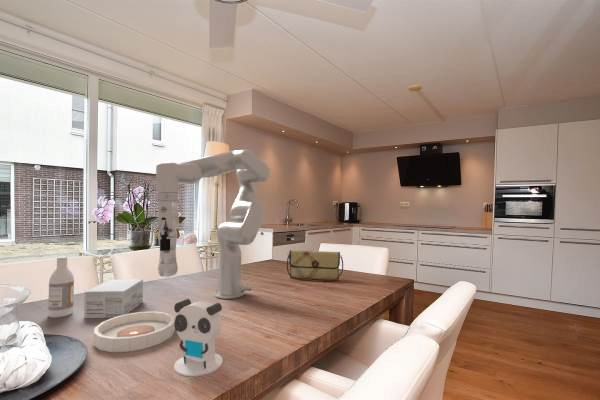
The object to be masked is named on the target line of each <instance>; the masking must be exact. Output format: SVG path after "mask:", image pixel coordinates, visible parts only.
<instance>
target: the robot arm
mask: <svg viewBox="0 0 600 400" xmlns="http://www.w3.org/2000/svg"><path fill="white" fill-rule="evenodd" d="M233 171H236V178H237V182H238V185H239V192H238V193H237V196H236V198H235V199H234V202H233V204H232V206H231V208H230V210H229V211H230V212H229V216H230V218H231V219H232V221H229V220H228V221H224V222H221V223H220V224H219V225H218V226H217V229H216V239H217V243H218V283H217V284H218V286H217V287H218V288H217V290H215V292H214V294H213V295H214V297H215V298H218V299H223V300H229V299H238V298H241V297H243V296H245V291H247V292H250V291H252V286H251V285H244V284H243V282H242V250H241V247H240V246H249V245H251V244H252V243H253V242H254V241H255V239H256V237H257V235H258V233H259V230H260V228H261V226H262V223H263V220H264V218H265V207H264V205H263V204H262V203H261V202H260V201H257V198H258V197H257V196H258V191H257V189H256V187H255V185H254V183H264V182H267V181H268V180H269V178H270V177H271V170H270V168H269V165H268V164H267V163H266V162H265V161H264V160H262V159H261V158H260V157H259V156H258V154H257V155H256V153H254V152H253V151H251V150H250V149H247V148H244V149H236V150H235V149H234V150H228V151H224V152H220V153H217V154H211V155H208V156H204V157H200V158H197V159H192V160H188V161H183V162H182V161H181V162H179V163H177V162H171V161H162V162H158V163H156V167H155V174H156V175H155V186H156V187H155V188H156V189H155V190H156V191H155V193H156V194H155V197H156V199H155V201H156V203H158V206H157V229H158V230H159V231H160V247H159V252H160V251H169V250H170V239H169V236H170V229H171V231H173V230H176V231H177V229H179V228H180V218H179V217H180V216H179V215H180V213H179V205H178V203H180V185H194V184H196V183H198V182H200V181H201V180H202V179H203V178H212V177H213V178H214V177H218V176H222V175H224V174H227V173H231V172H233ZM165 229H168V230H165ZM166 232H167V233H166Z"/></svg>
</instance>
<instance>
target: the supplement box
mask: <svg viewBox="0 0 600 400" xmlns="http://www.w3.org/2000/svg"><path fill="white" fill-rule="evenodd" d="M143 287H144V279H142V278H140V279H139V278H138V279H134V278H133V279H127V278H126V279H123V278H122V279H108V280H106V281H104V282H101V283H99V284H98V285H96V286H94V287H92V288H90V289H88V290H85V291H84V304H83V306H84V307H83V310H84V314H83V318H84V319H96V318H97V319H101V318H103V319H105V318H108V319H111V317H117V316H121V315H125V314H130V313H131V312H132V311H133V310H135V309H136V308H137V307H138V306H139V305H141V304H142V303H143V302H144V301H143V299H144V295H143V294H144V292H143V291H144V288H143ZM140 303H141V304H140ZM135 307H136V308H135ZM134 308H135V309H134ZM130 311H131V312H130Z"/></svg>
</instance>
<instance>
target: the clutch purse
mask: <svg viewBox="0 0 600 400" xmlns="http://www.w3.org/2000/svg"><path fill="white" fill-rule="evenodd" d="M289 265H290V266H289ZM340 265H341V272H340V271H339V270H340ZM286 270H287V273H288V275H289V278H290V279H295V280H298V281H303V282H314V283H315V282H316V283H317V282H318V283H332V282H335V281H339V280H340V279H339V277H340V276H341V275H342V273H343V271H344V260H343V255H341V251H321V250H319V251H318V250H293V249H292V250H291V249H290V250H289V252H288V254H287V259H286Z"/></svg>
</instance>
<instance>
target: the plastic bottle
mask: <svg viewBox="0 0 600 400" xmlns="http://www.w3.org/2000/svg"><path fill="white" fill-rule="evenodd" d="M165 230H168V229H165ZM166 233H167V232H166ZM157 237H158V244H159V245H158V247H159V248H160V230H159V231H158V234H157ZM169 239H170V250H169V251H160V250H159V260H158V261H159V263H158V266H157V267H158V268H157V273H158V275H159V276H160V277H165V278H166V277H169V278H170V277H171V276H175V275H177V273H178V271H179V270H178V267H179V266H178V262H177V241H178V240H177V239H178V232H177V229H176V230H173V231H171V229H170V236H169Z"/></svg>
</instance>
